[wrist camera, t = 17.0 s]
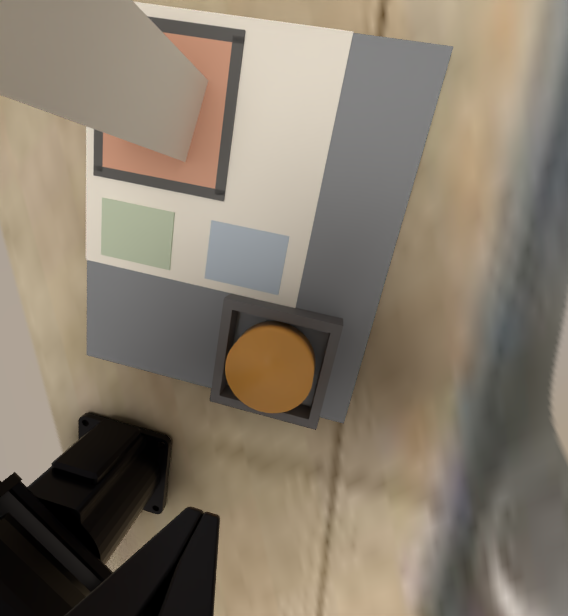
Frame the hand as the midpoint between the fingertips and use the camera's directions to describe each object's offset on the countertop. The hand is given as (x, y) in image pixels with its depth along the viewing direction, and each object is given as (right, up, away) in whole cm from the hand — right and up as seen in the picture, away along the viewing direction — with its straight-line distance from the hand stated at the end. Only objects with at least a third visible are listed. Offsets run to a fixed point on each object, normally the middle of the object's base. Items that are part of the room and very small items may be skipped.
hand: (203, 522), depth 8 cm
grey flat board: (-1, +9, +9) cm, 13 cm away
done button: (+1, +2, +9) cm, 10 cm away
